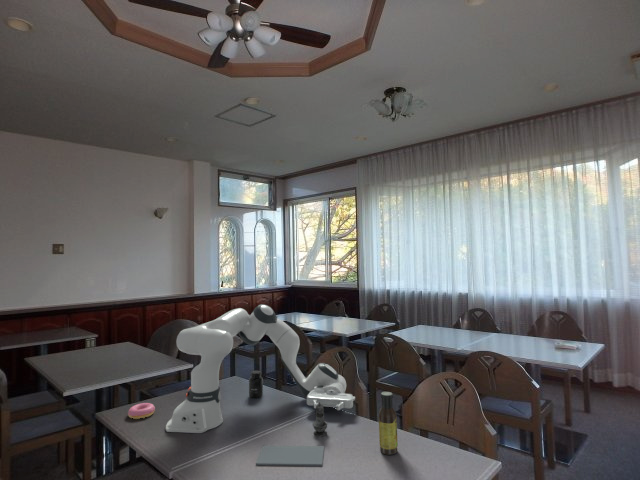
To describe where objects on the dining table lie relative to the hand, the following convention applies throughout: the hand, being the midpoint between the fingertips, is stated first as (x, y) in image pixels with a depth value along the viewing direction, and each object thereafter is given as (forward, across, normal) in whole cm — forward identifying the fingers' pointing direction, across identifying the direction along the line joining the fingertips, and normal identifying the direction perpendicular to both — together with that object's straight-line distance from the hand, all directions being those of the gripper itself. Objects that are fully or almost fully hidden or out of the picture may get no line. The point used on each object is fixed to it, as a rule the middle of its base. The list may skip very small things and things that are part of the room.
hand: (326, 407), depth 163 cm
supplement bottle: (-21, +40, -6) cm, 45 cm away
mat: (+30, +6, -5) cm, 31 cm away
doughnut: (+9, +82, -6) cm, 82 cm away
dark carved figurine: (+12, 0, -5) cm, 13 cm away
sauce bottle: (+20, -26, -5) cm, 34 cm away
